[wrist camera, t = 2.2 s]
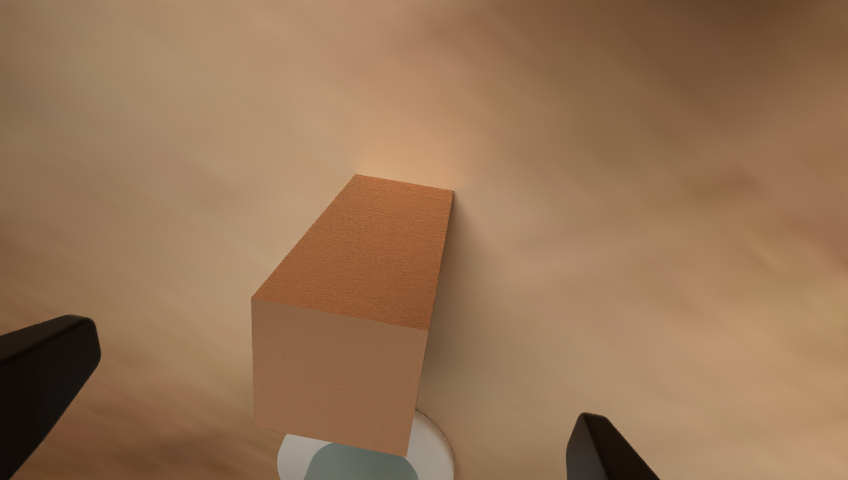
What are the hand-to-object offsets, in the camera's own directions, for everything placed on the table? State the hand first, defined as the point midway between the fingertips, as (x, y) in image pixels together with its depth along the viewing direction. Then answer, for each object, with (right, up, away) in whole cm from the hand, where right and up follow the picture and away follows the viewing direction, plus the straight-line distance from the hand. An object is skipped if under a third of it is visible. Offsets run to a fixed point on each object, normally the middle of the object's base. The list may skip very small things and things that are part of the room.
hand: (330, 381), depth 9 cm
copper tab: (+1, +3, +6) cm, 7 cm away
